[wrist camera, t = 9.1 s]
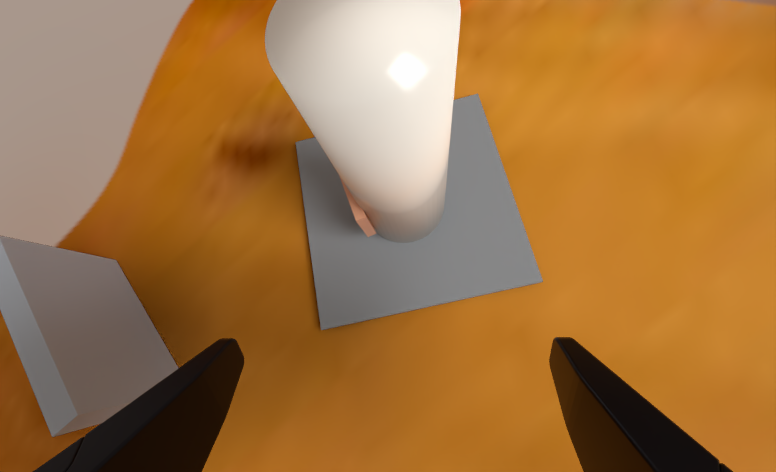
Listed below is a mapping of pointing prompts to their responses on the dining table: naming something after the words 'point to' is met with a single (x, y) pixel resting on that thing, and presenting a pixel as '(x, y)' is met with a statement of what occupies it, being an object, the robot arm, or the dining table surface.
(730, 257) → the dining table surface
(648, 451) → the robot arm
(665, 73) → the dining table surface
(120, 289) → the screen
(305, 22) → the white rounded cylinder
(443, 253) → the slate mat
